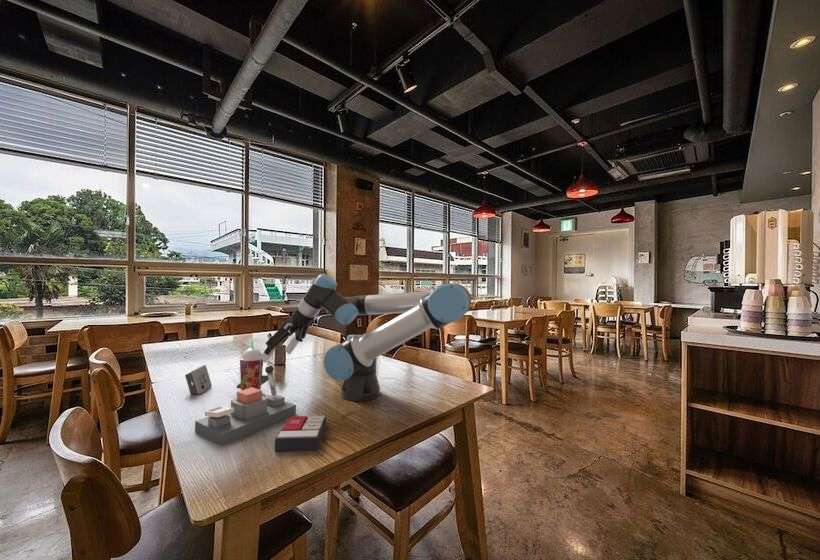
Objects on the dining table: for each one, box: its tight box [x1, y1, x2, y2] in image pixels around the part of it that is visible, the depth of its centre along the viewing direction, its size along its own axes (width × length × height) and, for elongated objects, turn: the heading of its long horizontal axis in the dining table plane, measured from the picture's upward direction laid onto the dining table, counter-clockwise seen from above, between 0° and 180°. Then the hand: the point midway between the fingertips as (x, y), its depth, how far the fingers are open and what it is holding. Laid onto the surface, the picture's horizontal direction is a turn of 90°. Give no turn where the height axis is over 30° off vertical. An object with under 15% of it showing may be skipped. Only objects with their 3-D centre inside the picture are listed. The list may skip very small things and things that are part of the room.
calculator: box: [274, 415, 327, 453], centre depth 92 cm, size 11×4×15 cm
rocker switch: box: [204, 406, 234, 417], centre depth 93 cm, size 4×7×1 cm, turn 59°
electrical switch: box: [184, 364, 213, 395], centre depth 126 cm, size 9×5×9 cm, turn 7°
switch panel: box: [194, 394, 297, 446], centre depth 100 cm, size 24×14×7 cm, turn 149°
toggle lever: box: [265, 364, 278, 396], centre depth 109 cm, size 3×3×10 cm
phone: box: [236, 374, 269, 389], centre depth 138 cm, size 8×1×15 cm
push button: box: [236, 387, 263, 404], centre depth 100 cm, size 5×5×4 cm
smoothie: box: [239, 340, 264, 391], centre depth 125 cm, size 8×8×20 cm
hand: (275, 356), depth 122 cm, fingers open, 13 cm apart
